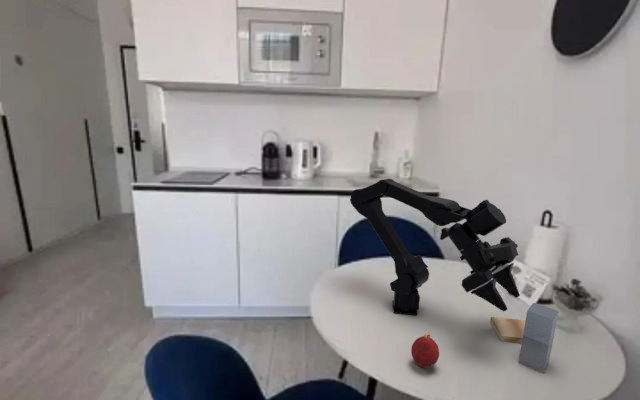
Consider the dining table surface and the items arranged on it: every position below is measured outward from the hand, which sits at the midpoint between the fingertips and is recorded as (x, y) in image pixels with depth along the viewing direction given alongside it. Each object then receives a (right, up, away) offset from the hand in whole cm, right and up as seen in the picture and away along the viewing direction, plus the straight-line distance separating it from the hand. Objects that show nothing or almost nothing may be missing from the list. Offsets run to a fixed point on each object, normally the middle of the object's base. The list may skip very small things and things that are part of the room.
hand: (512, 303), depth 85 cm
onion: (-21, -13, -4) cm, 25 cm away
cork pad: (+6, -10, +10) cm, 16 cm away
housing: (+4, -13, -1) cm, 14 cm away
